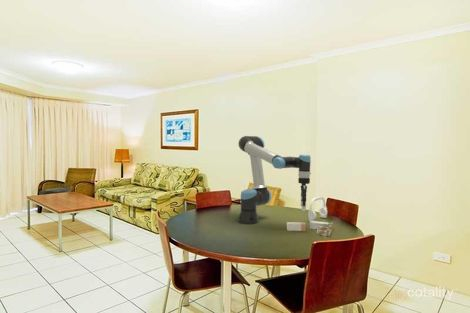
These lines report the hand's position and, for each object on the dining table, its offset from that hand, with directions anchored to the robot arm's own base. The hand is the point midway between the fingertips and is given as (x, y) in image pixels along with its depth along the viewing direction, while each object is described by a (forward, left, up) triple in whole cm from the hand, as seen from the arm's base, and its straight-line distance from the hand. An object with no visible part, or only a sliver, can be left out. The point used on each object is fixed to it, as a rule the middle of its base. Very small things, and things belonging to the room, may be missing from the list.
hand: (303, 208), depth 197 cm
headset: (+5, +29, -14) cm, 32 cm away
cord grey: (+10, +4, -14) cm, 18 cm away
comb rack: (+15, 0, -14) cm, 21 cm away
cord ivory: (-4, -4, -14) cm, 15 cm away
